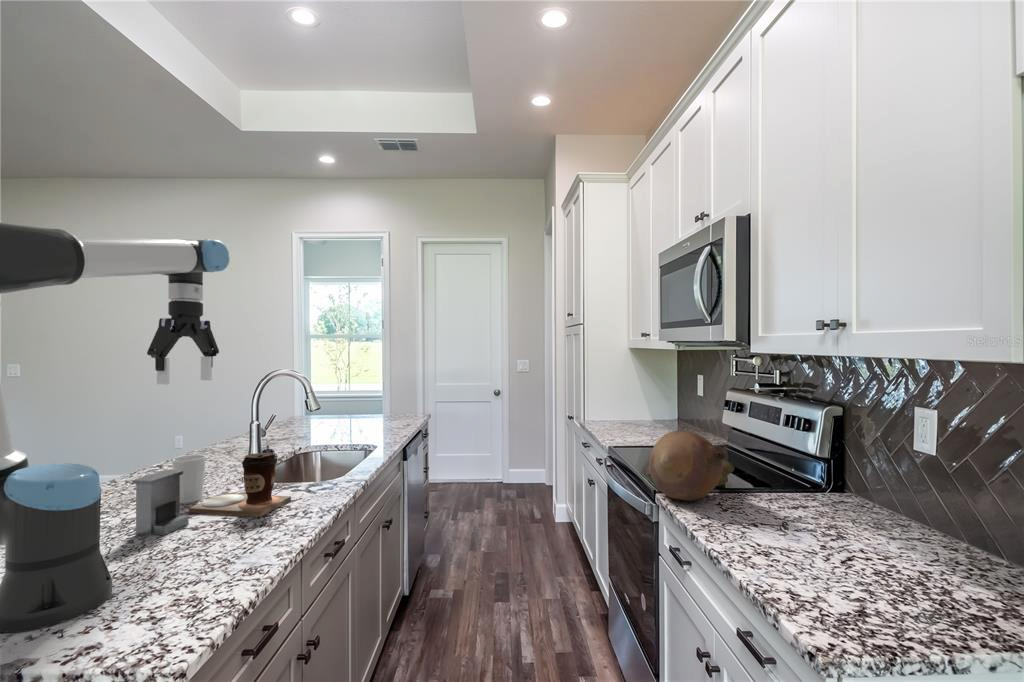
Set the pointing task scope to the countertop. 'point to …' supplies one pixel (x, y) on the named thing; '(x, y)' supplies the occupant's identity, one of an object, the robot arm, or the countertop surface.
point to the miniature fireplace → (159, 503)
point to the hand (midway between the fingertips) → (185, 382)
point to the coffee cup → (259, 477)
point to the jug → (687, 465)
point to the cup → (190, 476)
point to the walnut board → (237, 505)
